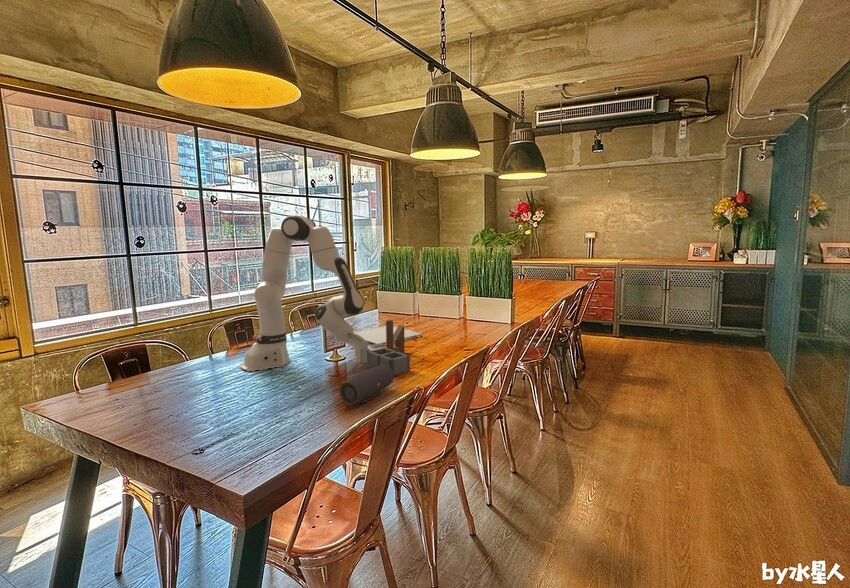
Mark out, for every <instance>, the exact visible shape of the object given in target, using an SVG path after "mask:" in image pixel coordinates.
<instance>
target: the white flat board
mask: <svg viewBox="0 0 850 588" xmlns="http://www.w3.org/2000/svg"><path fill="white" fill-rule="evenodd" d="M397 327H398V326H397ZM397 327H396V326H393V334H394V332H395V331H396V329H397ZM353 333H354V334H357V335H359V336H361V337H362V338H363V339H365V340H366V341H367V342H368V343H369V347H368V348H371V347H372V349H375V348H378V346H379V347H383V346H382V345H384V346H386V345H385V344H386V325H384V326H379V327H375V328H369V329H364V330H360V331H353ZM418 336H422V337H423V333H421V332H418V331H417V332H416V331H413V330H408V329H406V328H404V340H405V339H409V338H413V337H418ZM374 347H375V348H374Z"/></svg>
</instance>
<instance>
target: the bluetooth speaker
mask: <svg viewBox="0 0 850 588" xmlns="http://www.w3.org/2000/svg"><path fill="white" fill-rule="evenodd" d="M394 379H395V375H394V374H393V371H392V370H391V368H390V367H389V366H387V365H380V366H377V367H374V368H370V369H367V370H364V371H363V372H361V373H358V374H357V375H354V376H353V377H350V378H349V379H347V380H346V381H344V382H343V383H342V384H341V385H340V387H339V396H340V398H341V400H342V401H343V402H344V403H345V404H347V405H351V406H352V405H355V404H358V403H364V402H363V401H365V402H367V401H369V400H371V399H372V397H373V398H375V397H376V396H378V395H377V394H379V393H380V392H381V391H383V390H384V389H386V388H388V387H389V386H390V385H392V383H393V382H394ZM375 395H376V396H375ZM374 396H375V397H374ZM370 398H371V399H370ZM368 399H369V400H368ZM366 400H367V401H366ZM360 401H361V402H360Z"/></svg>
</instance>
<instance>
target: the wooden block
mask: <svg viewBox="0 0 850 588" xmlns="http://www.w3.org/2000/svg"><path fill="white" fill-rule="evenodd" d="M385 326H386V345H385V346H386V347H385V348H388V349H391V350H394V351H397V352H400V353H403V352H404V353H405V351H406V350H405V341H404V329H405V325H404V324H398V325H397V329H396V331H395V332H394V334H393V327H394V320H393V319H386V320H385ZM394 342H395V343H394ZM404 353H403V354H404Z"/></svg>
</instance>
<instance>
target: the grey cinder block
mask: <svg viewBox="0 0 850 588" xmlns="http://www.w3.org/2000/svg"><path fill="white" fill-rule="evenodd" d="M410 358H411V357H410V355H408V354H406V353H400V352H397V351H394V350H391V349H388V348H386V347H380V348H376V349H375V348H374V349H373V350H372V349H370V350H369V351H367V362H366V366H367V367H368V368H370V367H371V368H370V369H372V368H374V367H377V366H380V365H387V366H389V367H390V368H391V370H392V371H393V374H394V376H397V375H401V374H404V373H408V372H411V371H410V370H411V365H410V363H411V362H410V360H411V359H410Z"/></svg>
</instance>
